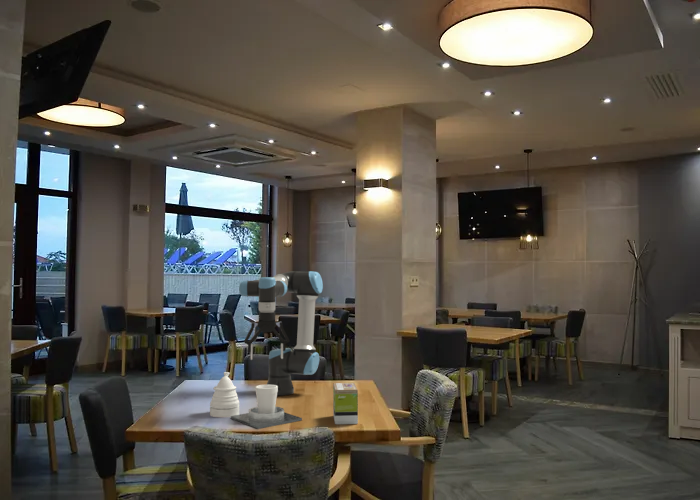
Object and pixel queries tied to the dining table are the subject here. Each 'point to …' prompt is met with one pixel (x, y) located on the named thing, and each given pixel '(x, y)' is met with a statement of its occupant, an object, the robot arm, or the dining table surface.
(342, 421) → the tea box
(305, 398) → the dining table surface
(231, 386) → the honey pot
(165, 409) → the dining table surface
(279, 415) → the duct flange
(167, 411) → the dining table surface
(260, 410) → the foam cup
